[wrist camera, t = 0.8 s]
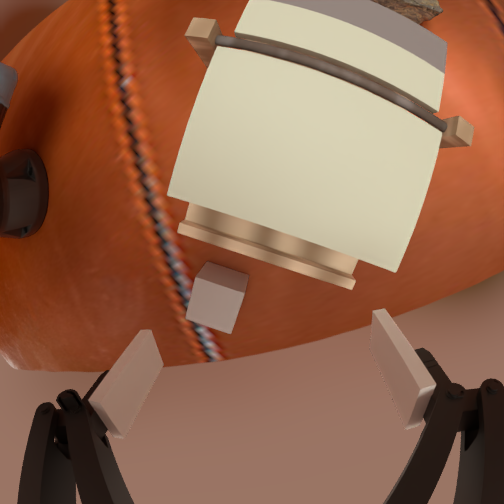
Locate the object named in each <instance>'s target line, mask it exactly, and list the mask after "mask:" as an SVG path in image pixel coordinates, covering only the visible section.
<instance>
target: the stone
mask: <svg viewBox="0 0 504 504" xmlns="http://www.w3.org/2000/svg"><path fill="white" fill-rule="evenodd" d="M248 279H249V275H247V274H244V273H241V272H238V271H235V270H232V269H229V268H226V267H223V266H220V265H217V264H214V263H211V262H208V261H207V262H206V263H205V265H204V266H203V267H202V269H201V270H200V271H199V273H198V274H197V276H196V277H195V281H194V285H193V289H192V293H191V297H190V301H189V305H188V309H187V313H186V318H185V319H188V320H190V321H193V322H196V323H199V324H202V325H205V326H208V327H211V328H214V329H217V330H220V331H223V332H226V333H229V334H231V332H232V329H233V326H234V324H235V321H236V318H237V315H238V312H239V309H240V306H241V303H242V301H243V298H244V295H245V291H246V287H247V283H248Z"/></svg>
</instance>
